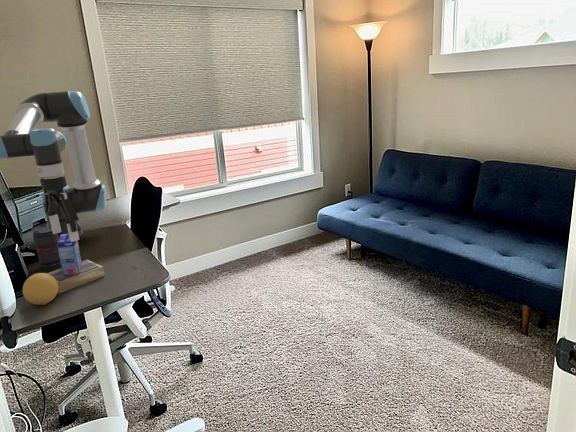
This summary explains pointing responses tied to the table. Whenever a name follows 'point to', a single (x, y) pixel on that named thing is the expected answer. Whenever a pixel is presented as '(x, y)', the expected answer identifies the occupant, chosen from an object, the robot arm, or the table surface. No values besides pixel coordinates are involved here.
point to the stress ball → (40, 288)
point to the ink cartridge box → (69, 255)
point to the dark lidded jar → (47, 247)
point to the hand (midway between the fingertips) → (65, 236)
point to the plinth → (78, 276)
